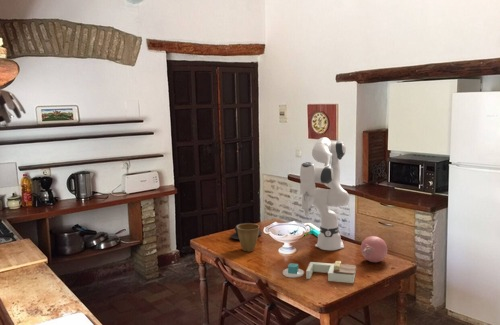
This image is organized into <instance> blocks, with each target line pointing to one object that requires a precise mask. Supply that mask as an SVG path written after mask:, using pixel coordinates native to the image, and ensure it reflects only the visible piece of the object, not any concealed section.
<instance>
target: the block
mask: <svg viewBox="0 0 500 325" xmlns="http://www.w3.org/2000/svg"><path fill="white" fill-rule="evenodd" d="M287 269H288V273H292V274H297V272H298V269H299V263H294V262H293V263H291V262H289V263H288V265H287Z"/></svg>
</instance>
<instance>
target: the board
mask: <svg viewBox="0 0 500 325" xmlns="http://www.w3.org/2000/svg"><path fill="white" fill-rule="evenodd" d="M334 264H335V263H329V262H327V263H326V262H316V261H310V262H309V263H308V266H307V268H306V271H305V275H306V276H305V278H306V280H310V279H311V277H312V275H313V273H314V272H316V273H327V281H328V282H337V283H348V284H349V283H350V284H354V282H355V277H356V270H357V268H356V269H355V274H354V275H353V274H341V273H333V271H334ZM341 264H342V263H341ZM342 265H344V264H342ZM354 266H356V265H354ZM356 267H357V266H356Z"/></svg>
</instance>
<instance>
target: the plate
mask: <svg viewBox="0 0 500 325" xmlns="http://www.w3.org/2000/svg"><path fill="white" fill-rule="evenodd" d="M282 275H283V276H284V277H287V278H291V279H297V278H301V277H303V276H304V275H305V271H304V270H303V269H301V268H298V272H297V274H292V273H288V268H285V269H283V270H282Z"/></svg>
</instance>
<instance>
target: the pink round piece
mask: <svg viewBox="0 0 500 325" xmlns="http://www.w3.org/2000/svg"><path fill="white" fill-rule="evenodd" d="M360 253H361V256H362V257H363V258H364V259H365V260H366V261H368V262H371V263H380V262H381V261H383V260H384V259H385V258H386V257H387V254H388V246H387V243H386V241H385V240H384V239H382V238H381V237H379V236H375V235H372V236H368V237H366V238H365V239H364V240H362V242H361V244H360Z"/></svg>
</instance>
